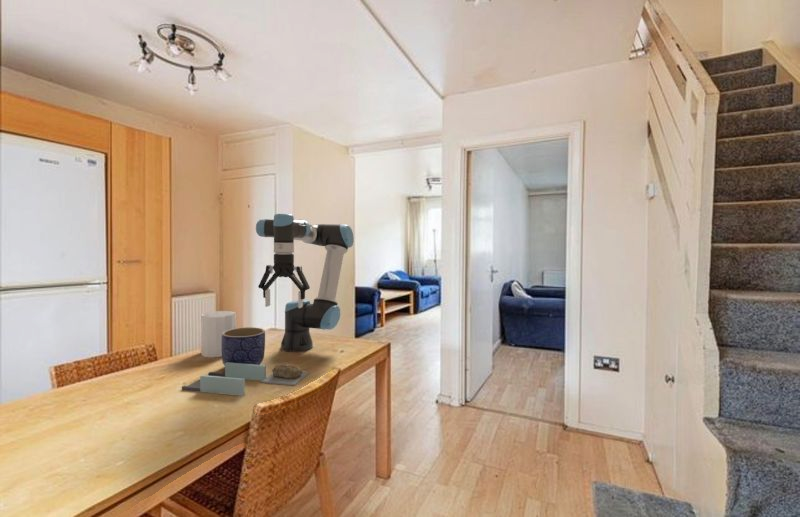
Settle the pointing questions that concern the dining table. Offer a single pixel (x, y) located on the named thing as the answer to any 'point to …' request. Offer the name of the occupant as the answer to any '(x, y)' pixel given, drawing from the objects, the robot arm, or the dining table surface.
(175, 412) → the dining table surface
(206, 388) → the trough
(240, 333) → the planter
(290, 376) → the rock
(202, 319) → the container
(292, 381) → the pad
